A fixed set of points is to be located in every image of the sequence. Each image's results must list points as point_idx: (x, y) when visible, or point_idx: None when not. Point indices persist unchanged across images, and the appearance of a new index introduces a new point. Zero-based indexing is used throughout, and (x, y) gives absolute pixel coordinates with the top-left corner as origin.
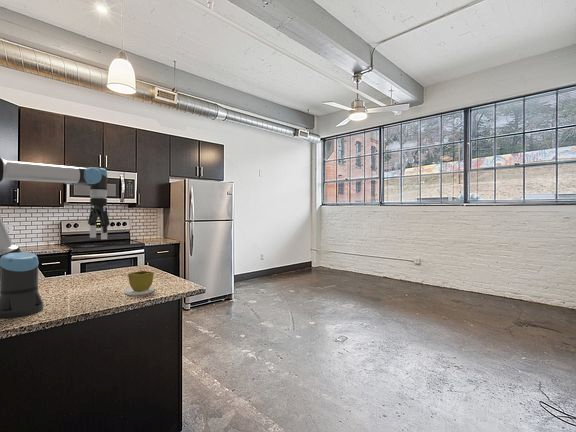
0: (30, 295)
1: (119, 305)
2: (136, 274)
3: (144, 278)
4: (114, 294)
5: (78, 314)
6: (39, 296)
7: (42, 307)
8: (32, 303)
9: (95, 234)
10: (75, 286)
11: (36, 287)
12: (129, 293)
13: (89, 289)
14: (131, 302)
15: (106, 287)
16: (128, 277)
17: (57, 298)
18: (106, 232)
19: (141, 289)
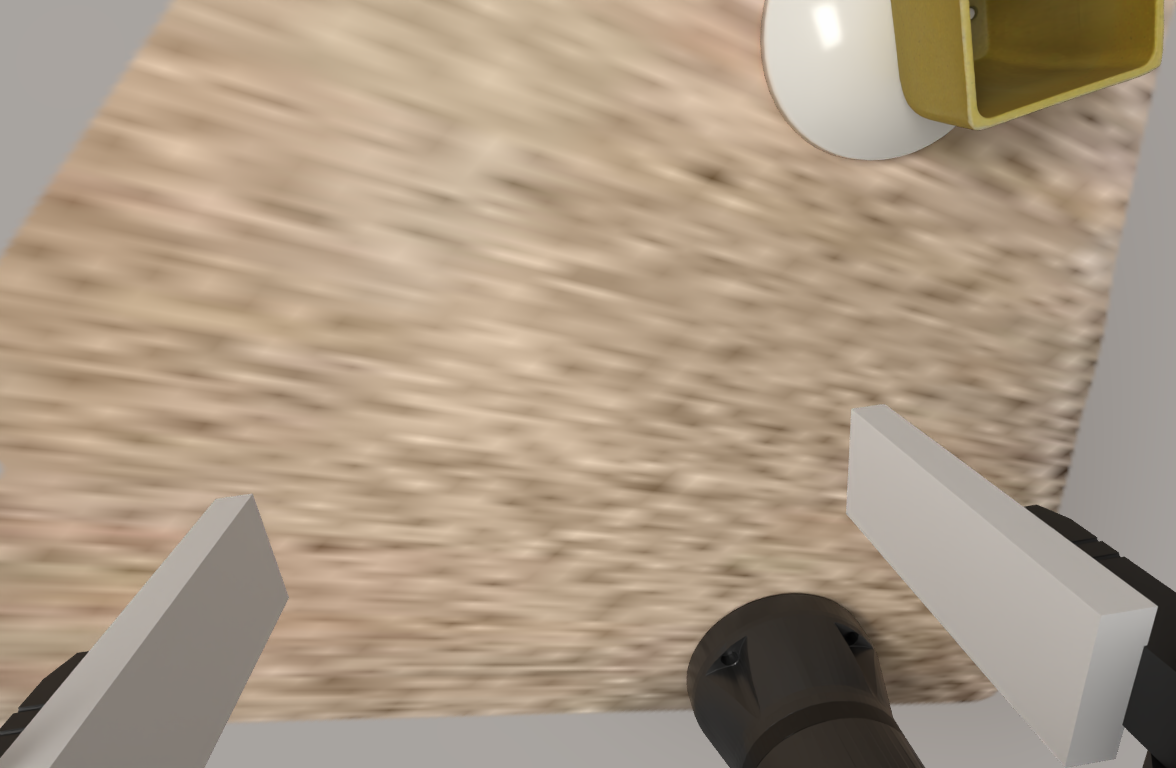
0: (890, 709)
1: (1092, 285)
2: (953, 17)
3: (1115, 5)
4: (804, 220)
5: (1049, 486)
6: (846, 660)
7: (829, 605)
8: (880, 669)
9: (221, 552)
10: (299, 380)
11: (882, 718)
12: (932, 141)
13: (495, 321)
14: (1101, 202)
15: (512, 194)
16: (955, 125)
17: (626, 521)
18: (1041, 517)
19: (1011, 48)
